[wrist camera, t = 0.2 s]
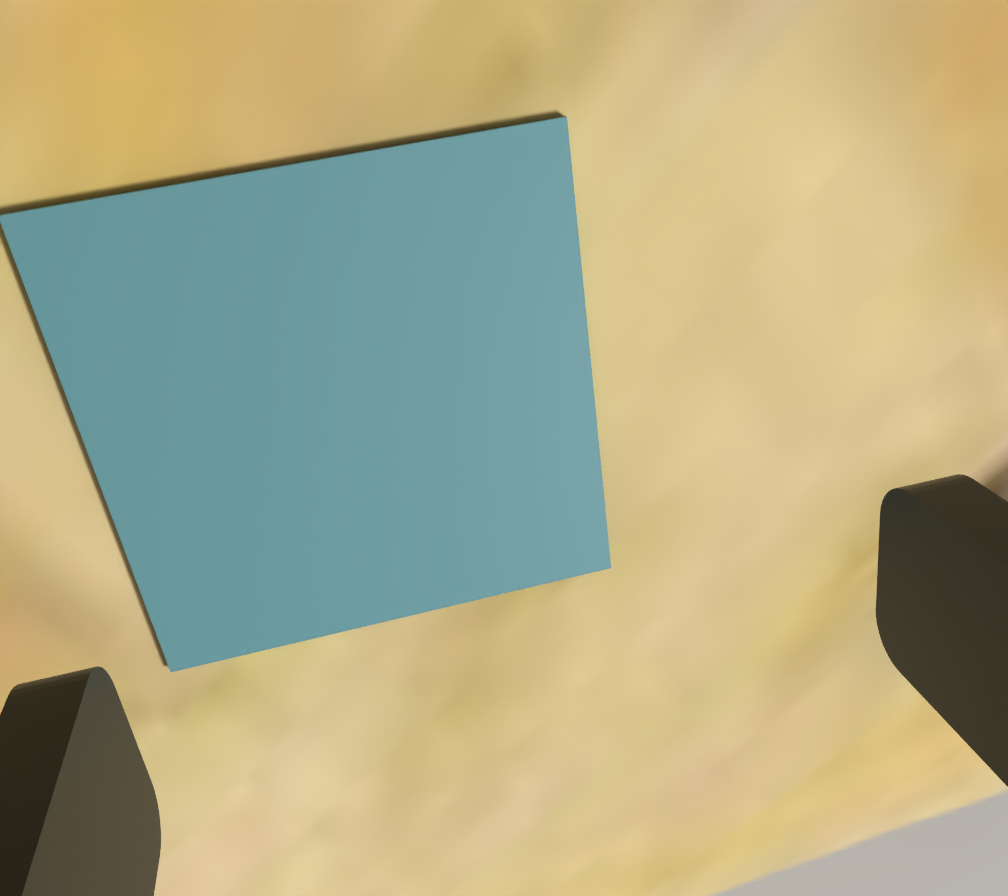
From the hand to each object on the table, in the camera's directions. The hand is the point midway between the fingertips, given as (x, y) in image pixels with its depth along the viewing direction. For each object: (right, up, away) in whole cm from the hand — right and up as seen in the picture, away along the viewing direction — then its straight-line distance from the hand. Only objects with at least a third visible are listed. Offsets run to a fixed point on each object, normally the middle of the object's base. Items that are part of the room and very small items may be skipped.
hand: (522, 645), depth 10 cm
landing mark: (-5, +3, +17) cm, 18 cm away
